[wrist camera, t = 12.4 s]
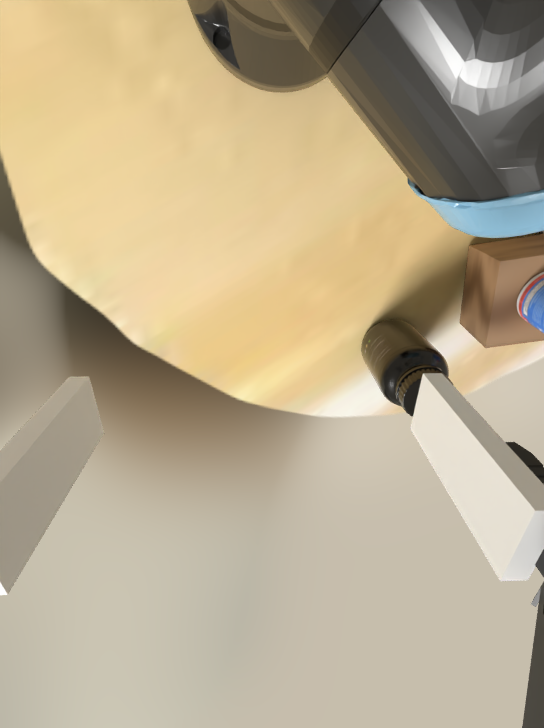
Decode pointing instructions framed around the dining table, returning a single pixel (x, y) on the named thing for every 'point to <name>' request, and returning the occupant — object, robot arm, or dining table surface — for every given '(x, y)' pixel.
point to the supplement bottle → (400, 361)
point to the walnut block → (500, 290)
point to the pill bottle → (533, 302)
